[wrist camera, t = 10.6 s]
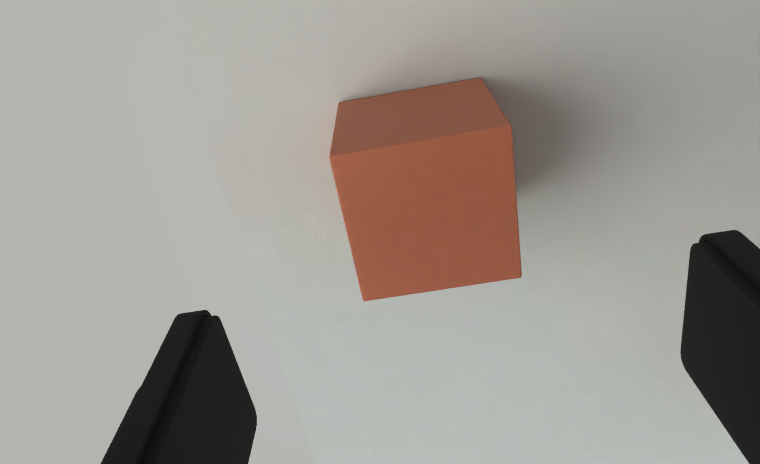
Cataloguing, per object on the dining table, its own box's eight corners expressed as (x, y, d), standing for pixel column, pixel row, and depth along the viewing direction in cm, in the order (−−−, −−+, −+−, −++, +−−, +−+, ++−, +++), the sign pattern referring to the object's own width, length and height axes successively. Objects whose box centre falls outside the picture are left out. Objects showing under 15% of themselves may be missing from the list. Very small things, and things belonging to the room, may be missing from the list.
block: (338, 101, 18) (328, 156, 14) (481, 76, 18) (512, 124, 14) (364, 225, 20) (363, 302, 16) (492, 205, 20) (522, 278, 16)
